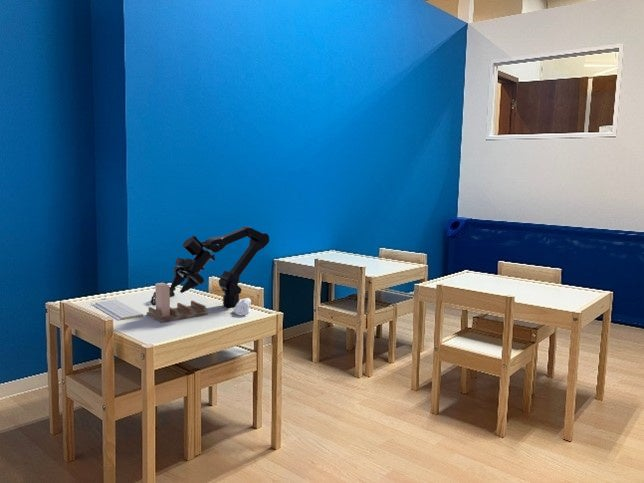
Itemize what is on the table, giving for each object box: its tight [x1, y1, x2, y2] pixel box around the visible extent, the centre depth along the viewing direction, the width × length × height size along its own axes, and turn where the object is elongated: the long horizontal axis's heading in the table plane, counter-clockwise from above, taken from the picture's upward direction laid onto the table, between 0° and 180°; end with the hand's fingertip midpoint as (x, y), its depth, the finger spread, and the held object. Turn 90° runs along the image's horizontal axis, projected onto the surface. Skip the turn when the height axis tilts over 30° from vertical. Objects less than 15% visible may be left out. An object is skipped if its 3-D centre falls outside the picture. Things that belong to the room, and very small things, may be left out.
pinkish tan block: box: [154, 282, 171, 317], centre depth 226 cm, size 4×6×13 cm, turn 40°
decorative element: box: [150, 286, 177, 306], centre depth 257 cm, size 22×5×6 cm, turn 175°
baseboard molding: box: [90, 297, 144, 321], centre depth 236 cm, size 31×3×12 cm
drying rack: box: [146, 300, 209, 324], centre depth 231 cm, size 21×15×4 cm
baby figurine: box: [232, 297, 252, 316], centre depth 237 cm, size 9×12×8 cm
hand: (175, 290), depth 230 cm, fingers open, 9 cm apart
